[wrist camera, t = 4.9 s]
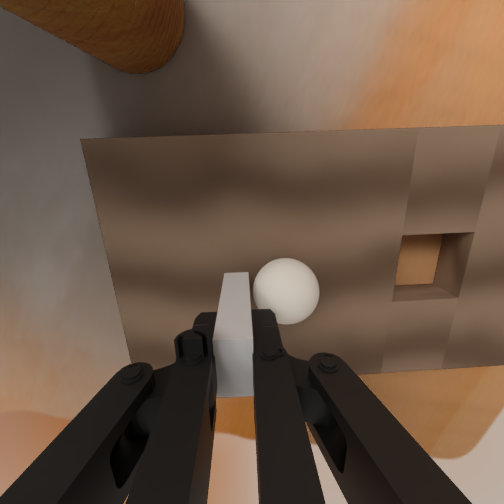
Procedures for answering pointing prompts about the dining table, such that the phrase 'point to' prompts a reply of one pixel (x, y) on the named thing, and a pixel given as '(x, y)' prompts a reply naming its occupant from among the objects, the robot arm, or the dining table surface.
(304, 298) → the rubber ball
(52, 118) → the dining table surface
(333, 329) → the hole board
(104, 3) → the disposable coffee cup
